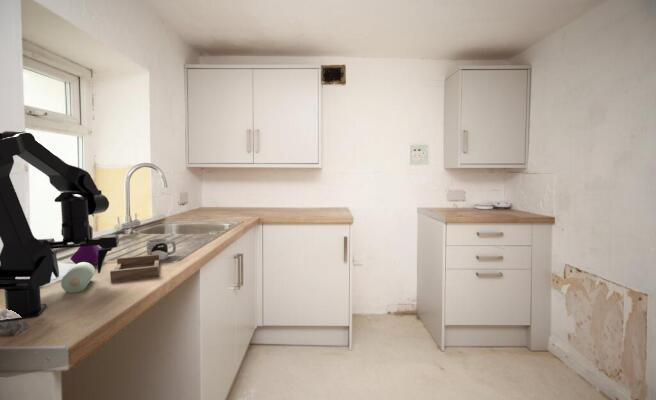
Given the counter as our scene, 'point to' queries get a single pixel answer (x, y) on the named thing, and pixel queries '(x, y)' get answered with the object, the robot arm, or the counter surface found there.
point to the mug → (160, 248)
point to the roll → (78, 277)
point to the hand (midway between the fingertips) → (78, 275)
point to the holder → (138, 272)
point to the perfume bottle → (86, 254)
